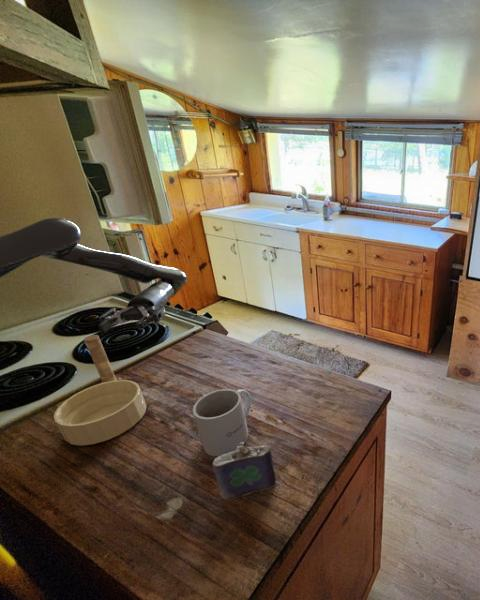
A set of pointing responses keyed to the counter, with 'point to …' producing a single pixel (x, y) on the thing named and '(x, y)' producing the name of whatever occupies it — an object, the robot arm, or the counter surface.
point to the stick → (100, 358)
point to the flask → (244, 471)
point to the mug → (222, 420)
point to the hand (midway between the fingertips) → (120, 328)
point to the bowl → (100, 412)
